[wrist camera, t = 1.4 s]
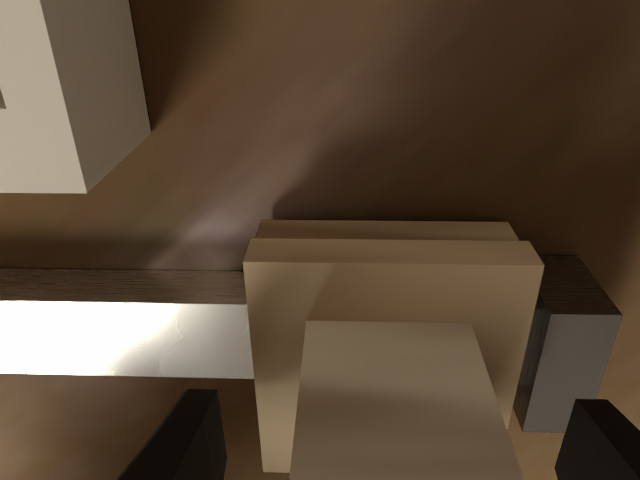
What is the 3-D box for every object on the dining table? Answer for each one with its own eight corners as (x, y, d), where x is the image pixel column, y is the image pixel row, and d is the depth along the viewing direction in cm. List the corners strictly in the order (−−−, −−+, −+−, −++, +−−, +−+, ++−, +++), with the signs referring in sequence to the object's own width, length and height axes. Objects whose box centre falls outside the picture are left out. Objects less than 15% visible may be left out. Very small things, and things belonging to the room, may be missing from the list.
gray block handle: (550, 363, 15) (584, 433, 13) (-120, 350, 16) (-193, 413, 14) (577, 255, 13) (622, 315, 11) (-174, 247, 14) (-268, 300, 12)
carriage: (475, 405, 16) (556, 690, 10) (274, 400, 16) (231, 675, 10) (510, 210, 13) (660, 450, 7) (260, 208, 13) (184, 437, 7)
